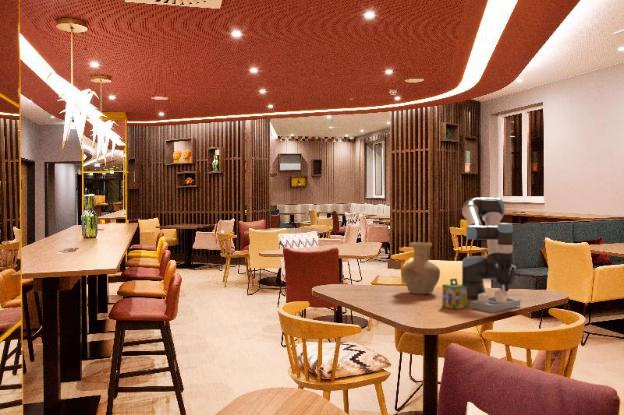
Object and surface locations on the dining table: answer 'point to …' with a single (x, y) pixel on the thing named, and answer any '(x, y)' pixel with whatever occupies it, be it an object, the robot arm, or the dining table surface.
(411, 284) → the vase
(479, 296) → the tab
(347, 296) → the dining table surface
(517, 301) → the switch bank
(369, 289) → the dining table surface
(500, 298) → the tab
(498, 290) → the tab
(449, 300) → the chalk box
